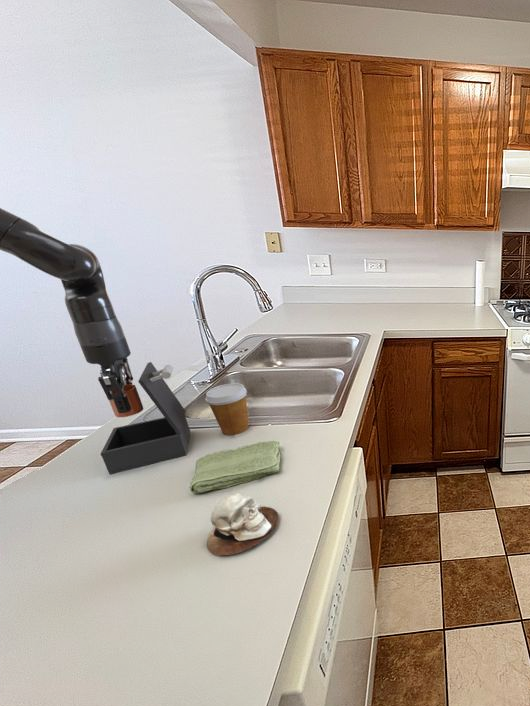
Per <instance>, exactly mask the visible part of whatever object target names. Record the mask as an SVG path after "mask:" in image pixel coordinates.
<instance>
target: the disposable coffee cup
mask: <svg viewBox="0 0 530 706" xmlns="http://www.w3.org/2000/svg"><path fill="white" fill-rule="evenodd" d="M247 393H248V390H247V388H246V387H245V386H244V385H243V384H242V383H237V382H235V383H234V382H233V383H225V384H221V385H217V386H215V387H212V388H210V389H209V390H208V391H207V392H206V393H205V398H204V400H205V402H206V403H207V404H208V405H209V407H210V409H211V411H212V414H213V416H214V418H215V420H216V422H217V424H218V427H219V428H220V430H221V433H222V434H223V435H225V436H236V435H239V434H241V433H243V432H245V431H247V430H248V429H249V426H250V425H249V414H248V405H247V404H248V403H247Z"/></svg>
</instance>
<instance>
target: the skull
mask: <svg viewBox="0 0 530 706" xmlns="http://www.w3.org/2000/svg"><path fill="white" fill-rule="evenodd" d="M279 518H280V517H279V513H278V512H277V510H275V509H274V508H272V507H269V506H261V504H260V503H259V502H258V501H256V500H254V498H253V497H252V496H248V495H245V494H243V493H238V492H237V493H232V494H229V495H227V496H225V497H224V498H222V499H221V500H220V501H218V502H217V504H216V505H215V506H214V508H213V510H212V512H211V515H210V522H211V524H212V526H213V527H214V529H212V531H211V532H210V533H209V535H208V538H207V540H206V545H205V546H206V549H207V550H208V552H210V553H211V554H213V555H216V556H228V555H230V556H231V555H234V554H238V553H239V554H240V553H241V552H244V551H247V550H249V549H251V548H253V547H255V546H256V545H258V544H259V543H261V542H262V541H264V540H265V539H267V537H269V536H270V535H271V534H272V532H273V533H274V530H276V527H277V525H278V523H279V520H280V519H279Z"/></svg>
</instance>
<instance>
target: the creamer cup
mask: <svg viewBox="0 0 530 706" xmlns="http://www.w3.org/2000/svg"><path fill="white" fill-rule="evenodd" d="M125 392H126V396H127V399H128V401H129V404H130V406H131V411H130V412H125V413H119V412H118V410H117V407H116V405H115V402H114V400H113V399H112V400H108V401H109V404H110V406H111V409H112V412H113V414H114V416H115V417H116V418H127V417H132V416H135V415H138V414H140V413H141V412H142V411H143V410H144V405H143V403H142V400H141V397H140V395H139V391H138V389H137V386H136V384H128V385H126V386H125ZM115 393H117V391H116V390H114V394H115Z"/></svg>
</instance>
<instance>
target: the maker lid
mask: <svg viewBox="0 0 530 706" xmlns="http://www.w3.org/2000/svg"><path fill="white" fill-rule="evenodd" d="M173 372H174V366H173V365H171V364H166V365H164V367H163V368H162V369H159V370H157V368H156V366H155V365H154V364H153V362H152V361H149V362H147V363H146V365H145V367H144V369H143V371H142V373H141V375H140V377H139V379H138V383H139V385H140V386H141V388H142V389H143V390H144V392H145V393H146V394H147V395H148V397H149V399H150V400H151V401H152V403H154V406H156V407H157V409H158V410H159V412H160V413H161V414H162V416H163V418H164V417H165V418H166V420H167V421H168V422H169V424H170V425H171V426H172V428H173V429H174V430H175V432H176V433H177V434H179V433H181V430H182V425H183V421H184V416H186V409H185V408H184V406H183V405H182V403H180V401H179V399H178V398H177V397H176V395H175V394H174V392H173V391H172V390H171V388H170V387H169V385H168V384H167V382H166V381H165V380H167V379H170V378H171V377H172V374H173ZM164 379H165V380H164Z"/></svg>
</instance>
